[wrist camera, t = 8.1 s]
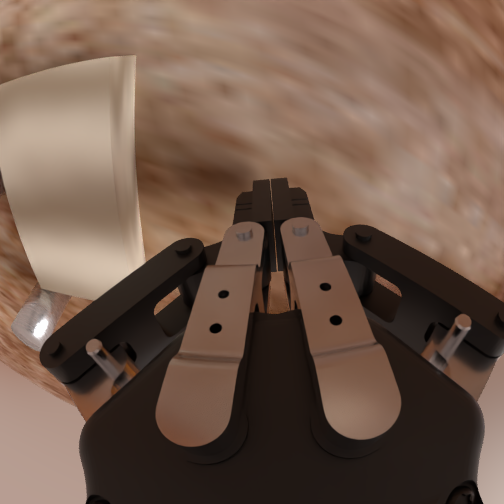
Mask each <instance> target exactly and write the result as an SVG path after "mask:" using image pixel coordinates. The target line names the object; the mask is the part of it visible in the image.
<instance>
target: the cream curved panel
mask: <svg viewBox="0 0 504 504" xmlns="http://www.w3.org/2000/svg"><path fill="white" fill-rule="evenodd" d="M135 68H136V55H129V56H114V57H105V58H99V59H93V60H87V61H82V62H77V63H72V64H68V65H63V66H59V67H55V68H51V69H47V70H43V71H40V72H36V73H33V74H30V75H27V76H23V77H20V78H17V79H14V80H12V81H9V82H6V83H3V84H1V85H0V170H1V174H2V178H3V183H4V187H5V190H6V194H7V198H8V201H9V205H10V208H11V212H12V215H13V218H14V221H15V224H16V227H17V230H18V233H19V236H20V238H21V241H22V244H23V246H24V249H25V252H26V254H27V257H28V259H29V261H30V264H31V266H32V269H33V271H34V273H35V275H36V278H37V280H38V282H39V284H40V286H41V288H42V289H45V290H49V291H54V292H58V293H62V294H66V295H71V296H75V297H80V298H84V299H89V300H94V301H95V300H96V299H98V298H99V297H100V296H101V295H103V294H104V293H105V292H107V291H108V290H109V289H111V288H112V287H113V286H115V285H116V284H117V283H119V282H120V281H121V280H123V279H124V278H125V277H127V276H128V275H129V274H131V273H132V272H134V271H135V270H136V269H138V268H139V267H140V266H142V265H143V264H145V263H146V260H145V253H144V246H143V238H142V230H141V221H140V212H139V202H138V190H137V176H136V159H135V128H134V98H135Z"/></svg>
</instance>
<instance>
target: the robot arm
mask: <svg viewBox="0 0 504 504" xmlns="http://www.w3.org/2000/svg"><path fill="white" fill-rule="evenodd" d="M271 189H272V200H271V190H270V181H269V179H266V180H256V181H253V191H251V192H242V193H241V194H240V195H239V196H238V198H237V200H236V207H235V213H234V220H233V226H231V227H229V228H228V229H227V230H226V232H225V235H224V238H223V241H221V242H219V243H216V244H213V245H210V246H206V247H204V245H203V243H202V241H200V240H199V239H196V238H185V239H181V240H178V241H176V242H174V243H173V244H171V245H170V246H168V247H167V248H166V249H164V250H163V251H161V252H160V253H158V254H157V255H156V256H154V257H153V258H151V259H150V260H149V261H147V262H146V263H145V264H143V265H142V266H140V267H139V268H138V269H136V270H135V271H134V272H132V273H131V274H129V275H128V276H127V277H125V278H124V279H123V280H121V281H120V282H119V283H117V284H116V285H115V286H113V287H112V288H111V289H109V290H108V291H107V292H105V293H104V294H103V295H101V296H100V297H99V298H98V299H96V300H95V301H94V302H92V303H91V304H90V305H88V306H87V307H86V308H85V309H83V310H82V311H81V312H80V313H78V314H77V315H76V316H74V317H73V318H72V319H71V320H69V321H68V322H67V323H66V324H65V325H63V326H62V327H61V328H60V329H58V330H57V331H56V332H55V333H54V334H52V335H51V336H50V337H49V338H48V339H47V340H46V341H45V342H44V344H43V346H42V348H41V350H40V362H41V364H42V365H43V366H44V367H45V368H46V369H47V370H48V371H49V372H50V373H51V374H53V375H54V376H55V377H56V379H57V380H58V381H59V382H60V383H61V384H62V385H63V386H65V387H66V389H67V391H68V392H69V394H70V396H71V398H72V400H73V401H74V403H75V405H76V406H77V408H78V410H79V412H80V413H81V415H82V416H83V418H84V420H85V421H86V423H85V425H84V427H83V429H82V432H81V436H80V441H79V450H80V451H79V452H80V457H81V462H82V466H83V469H84V474H85V480H86V489H87V500H86V504H483V502H482V499H481V497H480V494H479V491H478V487H477V473H478V464H479V458H480V452H481V448H482V444H483V438H484V429H485V425H484V418H483V414H482V411H481V408H480V406H479V404H478V403H477V401H478V399H479V397H480V395H481V393H482V391H483V389H484V387H485V385H486V383H487V381H488V379H489V377H490V374H491V372H492V370H493V368H494V365H495V363H496V361H497V360H498V359H499V358H500V357H501V356H502V354H503V353H504V303H503V302H502V301H500V300H499V299H497V298H496V297H494V296H493V295H491V294H490V293H488V292H487V291H485V290H484V289H482V288H480V287H479V286H477V285H476V284H474V283H472V282H471V281H469V280H468V279H466V278H464V277H463V276H461V275H459V274H458V273H456V272H454V271H453V270H451V269H449V268H448V267H446V266H444V265H442V264H441V263H439V262H437V261H435V260H434V259H432V258H430V257H428V256H427V255H425V254H423V253H421V252H419V251H418V250H416V249H414V248H412V247H410V246H408V245H406V244H405V243H403V242H401V241H399V240H397V239H395V238H393V237H391V236H389V235H387V234H385V233H384V232H382V231H380V230H378V229H376V228H374V227H371V226H368V225H353V226H350V227H348V228H347V229H346V230H345V231H344V233H343V235H335V234H330V233H327V232H324V231H322V230H321V227H320V225H319V224H318V223H317V222H316V221H315V220H314V217H313V214H312V211H311V207H310V205H309V201H308V197H307V194H306V192H305V191H304V190H302V189H301V188H300V187H298V188H289V186H288V181H287V178H277V179H271ZM272 202H273V210H272ZM273 217H274V221H273ZM274 228H275V237H274ZM275 239H276V250H277V262H278V271H283V273H284V287H285V293H286V298H287V304H288V309H289V311H287V312H284V313H280V314H269V303H270V290H271V286H270V281H271V272H277V270H276V253H275ZM376 274H378V275H380V276H381V277H383V278H384V279H386V280H388V281H389V282H391V283H393V284H394V285H396V286H397V287H398V288H399V290H400V291H401V294H402V298H401V297H400V296H398V295H397V294H395V293H394V292H392V291H390V290H389V289H387V288H386V287H384V286H383V285H381V284H379V283H378V282H376V281H375V279H376ZM177 287H178V289H179V292H180V294H181V295H180V296H178V297H177V298H176V299H175V300H173V301H172V302H171V303H170V304H169V305H167V306H166V307H165V308H164V309H162V310H161V311H160V312H159V313H158V314H156V315H154V308H155V306H156V304H157V303H158V302H159V301H160V300H162V299H163V298H164V297H165V296H167V295H168V294H169V293H170V292H172V291H173V290H174V289H175V288H177Z"/></svg>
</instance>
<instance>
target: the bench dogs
mask: <svg viewBox="0 0 504 504" xmlns="http://www.w3.org/2000/svg"><path fill="white" fill-rule="evenodd" d="M5 193H6V190H5V187H4V183H3V178H2V174H1V170H0V197H1V196H2V195H4V194H5ZM70 298H71V295H66V294H62V293H58V292H54V291H49V290H45V289H42V288H41V286H40V284H39V282H37V284H36V285H35V287H34V288H33V290H32V292H31V293H30V295H29V296H28V298H27V300H26V301H25V303H24V304H23V306H22V308H21V309H20V311H19V313H18V314H17V316H16V318H15V320H14V321H13V323H12V325H11V329H12V331H13V332H14V334H15V335H16V336H17V337H18V338H19V339H20V340H21V341H22V342H23V343H24V344H26V345H27V346H29V347H30V348H32V349H34V350H37V351H40V350H41V348H42V346H43V344H44V342H45V341H46V340H47V339H48V338H49V337H50V336H51V334H52V332H53V330H54V328H55V326H56V324H57V322H58V320H59V319H60V317H61V315H62V313H63V311H64V309H65V307H66V305H67V303H68V302H69V300H70Z"/></svg>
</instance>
